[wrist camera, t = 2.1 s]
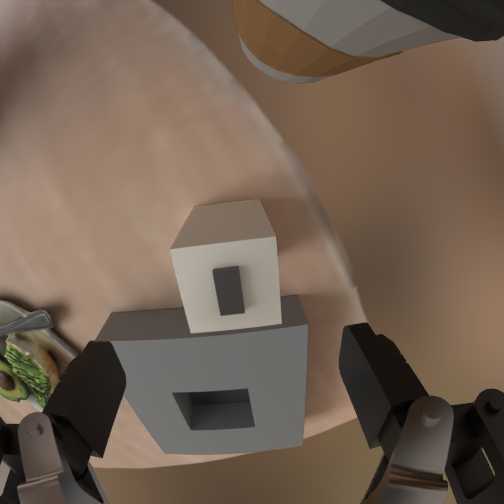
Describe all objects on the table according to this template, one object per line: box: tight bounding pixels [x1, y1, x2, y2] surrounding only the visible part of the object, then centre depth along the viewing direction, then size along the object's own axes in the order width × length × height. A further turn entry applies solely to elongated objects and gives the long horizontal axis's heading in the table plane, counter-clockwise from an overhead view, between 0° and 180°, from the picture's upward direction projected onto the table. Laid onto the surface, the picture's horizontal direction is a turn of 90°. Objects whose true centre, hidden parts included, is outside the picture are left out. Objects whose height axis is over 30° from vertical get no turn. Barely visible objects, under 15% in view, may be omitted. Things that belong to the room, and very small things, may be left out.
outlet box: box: [95, 295, 308, 455], centre depth 21 cm, size 16×14×4 cm
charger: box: [170, 199, 282, 333], centre depth 14 cm, size 4×4×7 cm
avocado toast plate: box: [0, 300, 80, 412], centre depth 19 cm, size 19×18×5 cm
